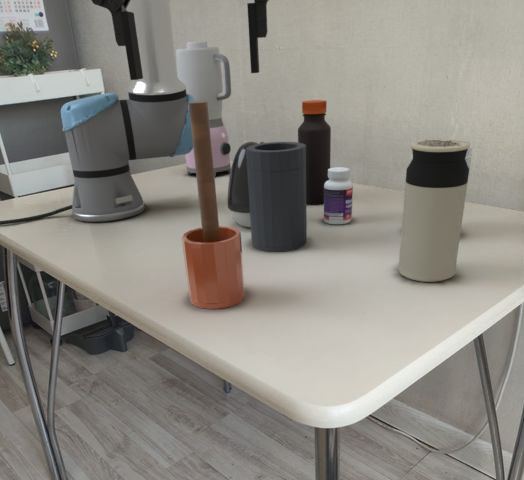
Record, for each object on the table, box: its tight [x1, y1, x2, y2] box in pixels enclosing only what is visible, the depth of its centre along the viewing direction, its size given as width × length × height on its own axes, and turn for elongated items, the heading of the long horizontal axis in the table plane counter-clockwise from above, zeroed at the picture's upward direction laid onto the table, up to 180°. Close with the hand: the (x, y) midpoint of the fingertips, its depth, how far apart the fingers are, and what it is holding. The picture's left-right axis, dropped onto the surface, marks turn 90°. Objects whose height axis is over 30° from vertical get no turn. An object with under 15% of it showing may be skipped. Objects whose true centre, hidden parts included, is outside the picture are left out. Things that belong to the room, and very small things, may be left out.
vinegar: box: [297, 99, 332, 205], centre depth 112 cm, size 7×7×20 cm
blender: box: [175, 40, 232, 178], centre depth 141 cm, size 16×12×32 cm
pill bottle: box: [323, 166, 354, 225], centre depth 101 cm, size 5×5×10 cm
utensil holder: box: [246, 141, 308, 253], centre depth 89 cm, size 10×10×16 cm
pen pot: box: [181, 225, 246, 310], centre depth 72 cm, size 8×8×9 cm
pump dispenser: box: [226, 141, 265, 229], centre depth 100 cm, size 10×10×15 cm
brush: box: [189, 101, 220, 243], centre depth 68 cm, size 4×4×24 cm
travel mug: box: [397, 138, 472, 283], centre depth 74 cm, size 8×8×18 cm
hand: (195, 76), depth 60 cm, fingers open, 13 cm apart
